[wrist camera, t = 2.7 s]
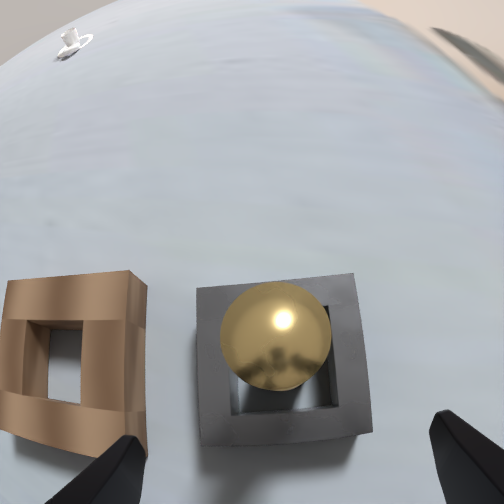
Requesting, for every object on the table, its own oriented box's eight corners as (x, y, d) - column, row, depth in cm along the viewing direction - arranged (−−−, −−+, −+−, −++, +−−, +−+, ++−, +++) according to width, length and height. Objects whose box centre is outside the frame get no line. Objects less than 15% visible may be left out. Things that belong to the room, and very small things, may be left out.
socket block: (213, 439, 17) (200, 445, 15) (208, 302, 21) (196, 287, 18) (360, 426, 17) (372, 432, 14) (345, 289, 20) (353, 273, 18)
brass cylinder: (257, 393, 18) (221, 392, 8) (254, 342, 20) (218, 286, 10) (310, 388, 18) (336, 383, 8) (306, 338, 19) (324, 276, 10)
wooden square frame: (22, 429, 18) (-3, 428, 15) (30, 293, 23) (8, 280, 20) (148, 456, 17) (127, 463, 14) (147, 285, 22) (129, 270, 19)
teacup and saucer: (77, 56, 43) (69, 39, 39) (49, 65, 44) (40, 50, 40) (101, 32, 46) (94, 17, 42) (72, 41, 48) (65, 26, 44)
